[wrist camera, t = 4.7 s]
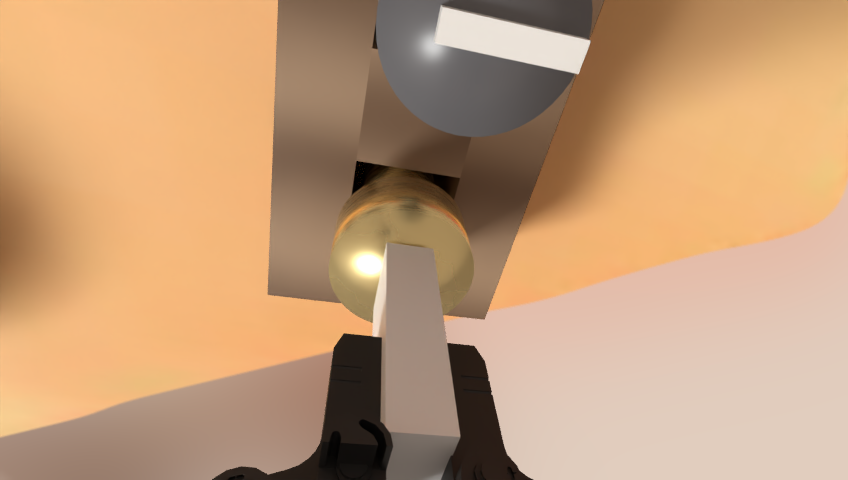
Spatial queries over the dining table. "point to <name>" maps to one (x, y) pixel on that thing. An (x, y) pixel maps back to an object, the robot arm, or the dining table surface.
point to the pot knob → (481, 58)
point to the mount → (379, 151)
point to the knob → (397, 236)
